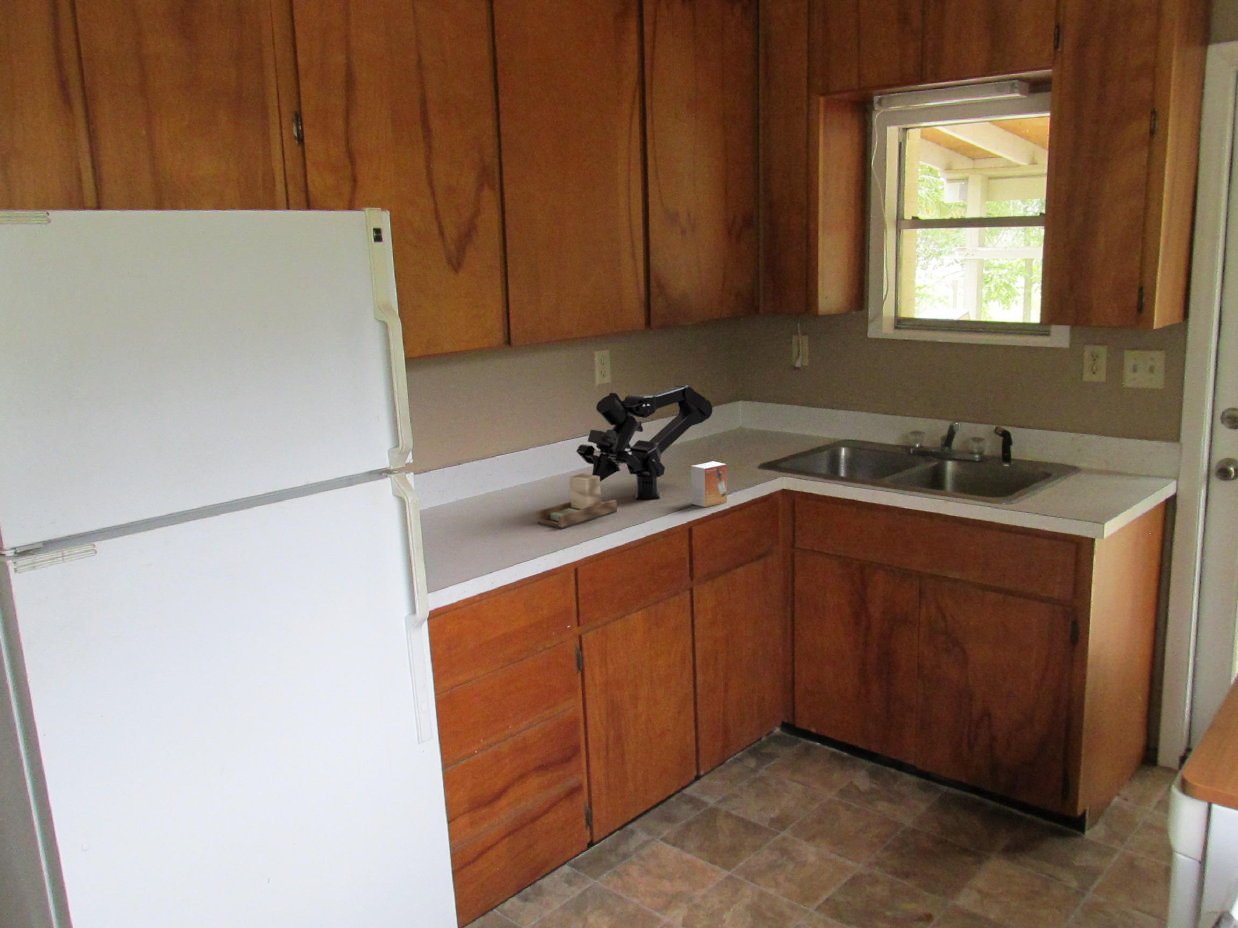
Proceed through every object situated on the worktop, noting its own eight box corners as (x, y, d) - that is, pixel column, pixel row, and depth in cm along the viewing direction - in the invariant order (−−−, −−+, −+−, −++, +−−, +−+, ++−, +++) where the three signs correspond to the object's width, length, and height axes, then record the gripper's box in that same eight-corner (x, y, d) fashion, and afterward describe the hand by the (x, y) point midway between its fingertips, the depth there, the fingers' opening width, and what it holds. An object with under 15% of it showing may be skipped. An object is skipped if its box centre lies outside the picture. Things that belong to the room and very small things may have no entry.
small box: (704, 508, 270) (703, 468, 268) (691, 504, 275) (690, 465, 272) (727, 502, 275) (727, 463, 273) (713, 498, 279) (713, 460, 277)
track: (592, 507, 276) (592, 495, 275) (616, 512, 270) (616, 500, 269) (537, 523, 262) (537, 511, 262) (562, 529, 256) (561, 516, 255)
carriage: (585, 503, 271) (583, 473, 270) (601, 506, 267) (599, 476, 266) (571, 507, 268) (569, 477, 266) (587, 510, 264) (585, 480, 262)
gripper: (579, 414, 275) (551, 462, 270) (630, 420, 262) (601, 471, 257) (601, 438, 282) (574, 485, 277) (652, 446, 269) (624, 495, 264)
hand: (592, 484), depth 268 cm, fingers closed, pressing on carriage
